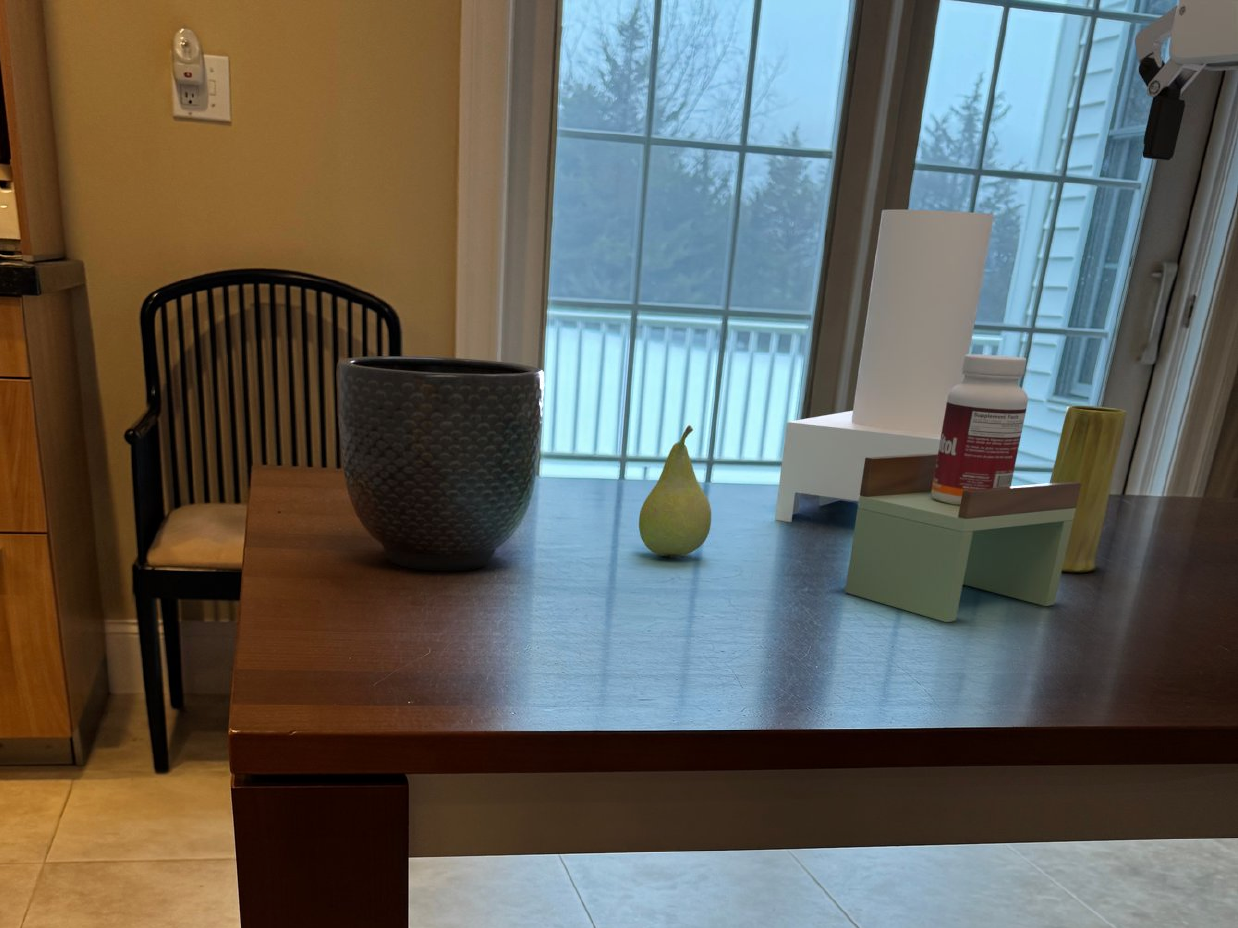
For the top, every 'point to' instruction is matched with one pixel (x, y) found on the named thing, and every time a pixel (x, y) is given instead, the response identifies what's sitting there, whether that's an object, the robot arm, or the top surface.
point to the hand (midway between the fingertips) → (1215, 157)
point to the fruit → (675, 507)
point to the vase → (1088, 475)
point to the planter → (439, 454)
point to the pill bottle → (981, 427)
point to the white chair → (896, 356)
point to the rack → (955, 539)
